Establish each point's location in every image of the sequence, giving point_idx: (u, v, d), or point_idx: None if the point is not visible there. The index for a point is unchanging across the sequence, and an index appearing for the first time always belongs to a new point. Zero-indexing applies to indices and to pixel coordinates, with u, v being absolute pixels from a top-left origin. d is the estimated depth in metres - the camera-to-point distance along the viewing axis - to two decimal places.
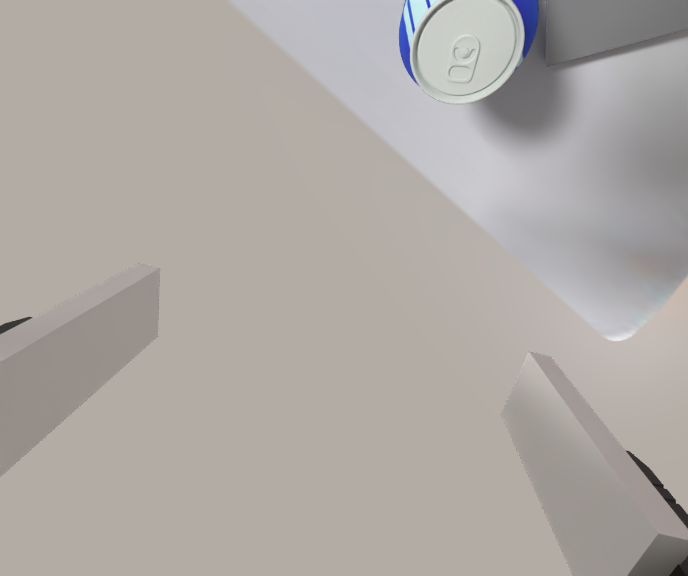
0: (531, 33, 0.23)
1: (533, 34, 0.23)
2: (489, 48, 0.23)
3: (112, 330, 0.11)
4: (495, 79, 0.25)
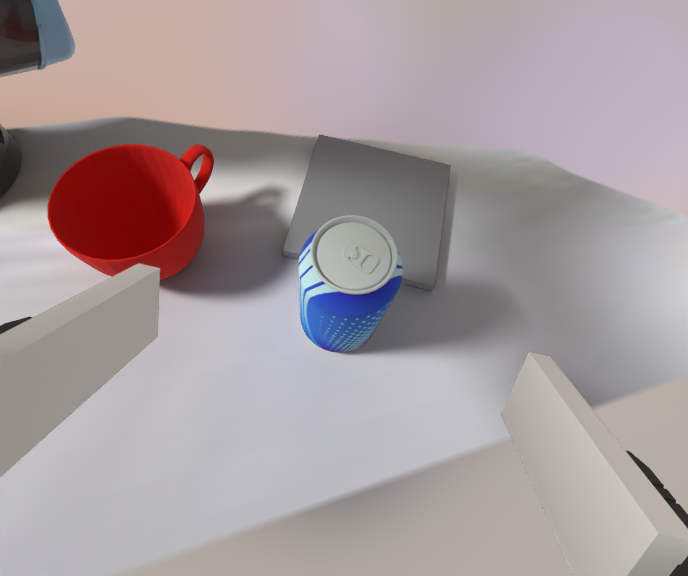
0: None
1: None
2: (361, 239, 0.30)
3: (112, 330, 0.11)
4: (387, 244, 0.30)
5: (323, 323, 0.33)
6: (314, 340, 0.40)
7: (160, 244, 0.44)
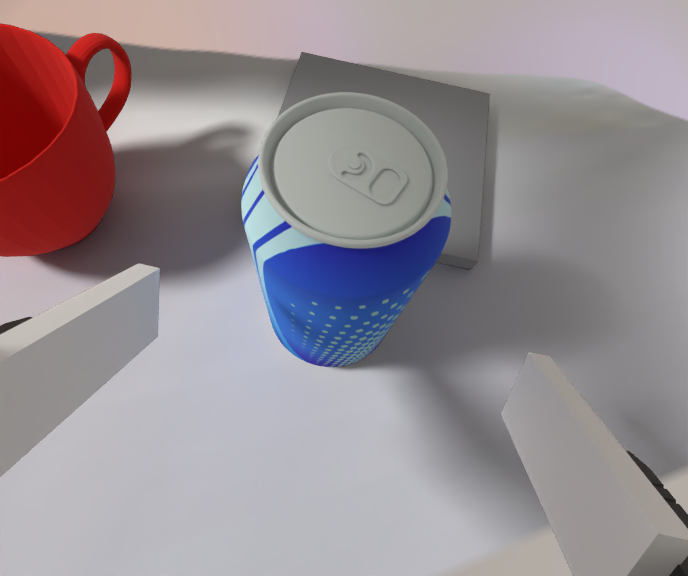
0: None
1: None
2: (369, 139, 0.14)
3: (112, 330, 0.11)
4: (423, 149, 0.14)
5: (297, 318, 0.17)
6: (290, 348, 0.24)
7: None
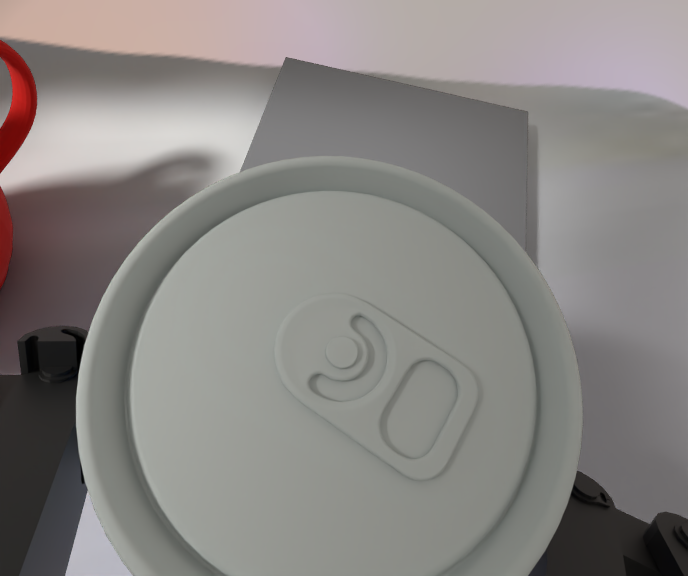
0: None
1: None
2: (379, 271, 0.06)
3: None
4: (506, 293, 0.06)
5: None
6: None
7: None
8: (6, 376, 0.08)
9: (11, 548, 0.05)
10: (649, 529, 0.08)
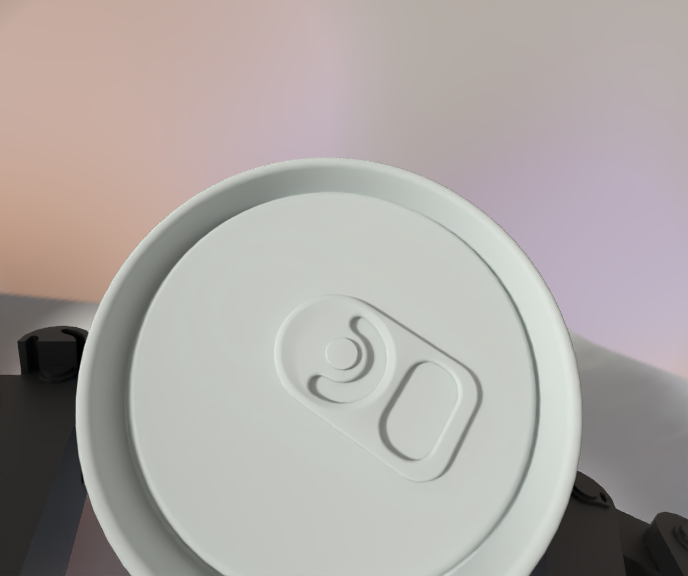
0: None
1: None
2: (379, 273, 0.06)
3: None
4: (506, 294, 0.06)
5: None
6: None
7: None
8: (6, 376, 0.08)
9: (11, 548, 0.05)
10: (649, 529, 0.08)
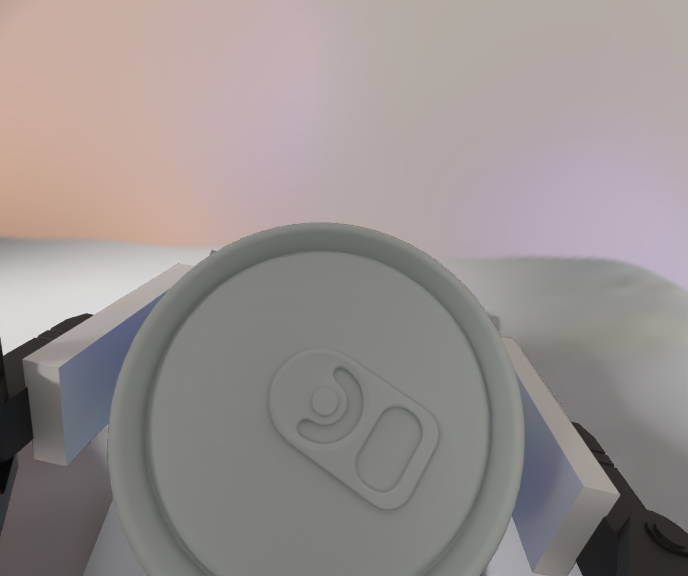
0: None
1: None
2: (359, 326, 0.07)
3: None
4: (468, 344, 0.07)
5: None
6: None
7: None
8: None
9: None
10: None
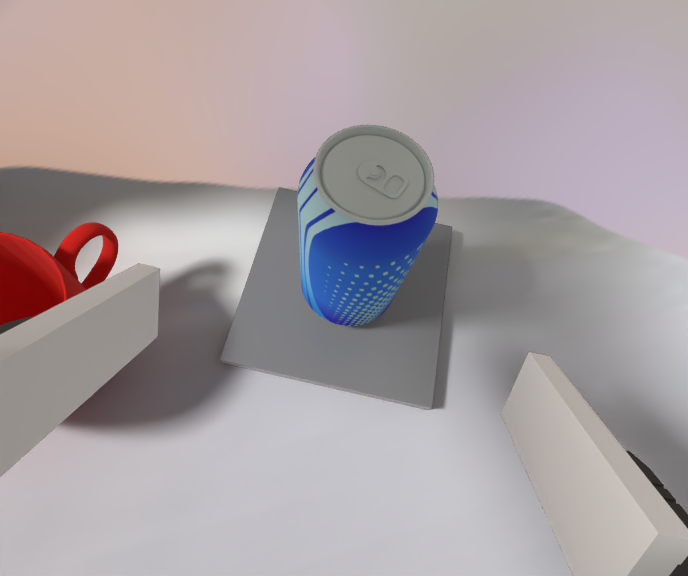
0: None
1: None
2: (383, 156, 0.22)
3: (112, 330, 0.11)
4: (419, 163, 0.22)
5: (330, 278, 0.25)
6: (318, 310, 0.32)
7: None
8: None
9: None
10: None
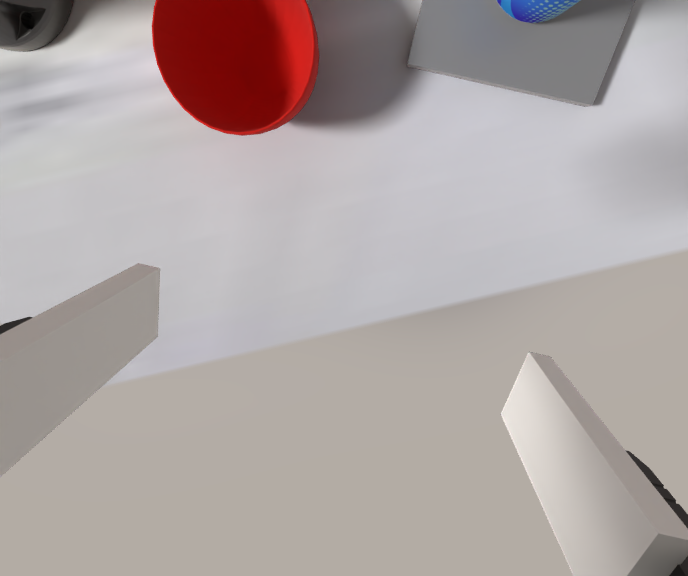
0: None
1: None
2: None
3: (112, 330, 0.11)
4: None
5: None
6: (508, 6, 0.32)
7: (265, 62, 0.38)
8: None
9: None
10: None
